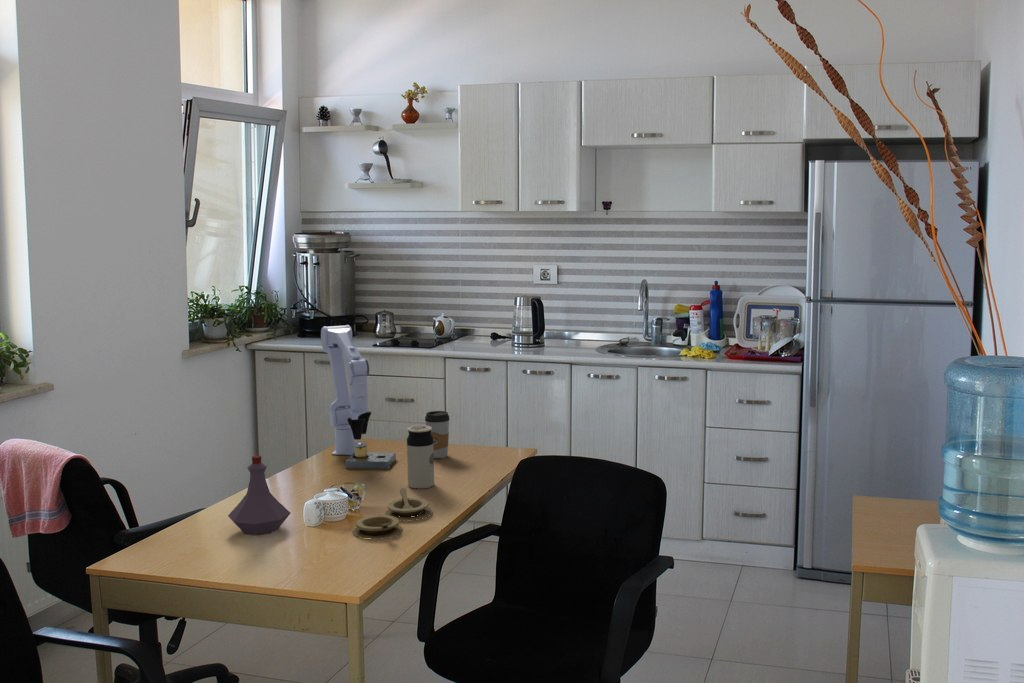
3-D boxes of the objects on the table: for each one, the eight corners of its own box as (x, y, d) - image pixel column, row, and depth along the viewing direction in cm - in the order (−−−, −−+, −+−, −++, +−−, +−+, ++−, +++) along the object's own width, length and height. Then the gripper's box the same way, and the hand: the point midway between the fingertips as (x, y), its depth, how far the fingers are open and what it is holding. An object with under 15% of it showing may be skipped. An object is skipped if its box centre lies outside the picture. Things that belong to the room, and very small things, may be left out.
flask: (266, 516, 285) (262, 446, 283) (304, 527, 275) (301, 455, 272) (215, 531, 273) (211, 458, 270) (253, 544, 263) (249, 468, 260)
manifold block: (354, 459, 346) (354, 452, 346) (395, 459, 345) (395, 452, 344) (345, 468, 334) (345, 461, 334) (387, 469, 333) (387, 461, 333)
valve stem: (361, 461, 343) (360, 441, 342) (370, 463, 340) (369, 442, 339) (353, 464, 339) (352, 444, 338) (362, 466, 337) (361, 445, 336)
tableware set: (390, 506, 296) (389, 485, 296) (451, 513, 289) (450, 492, 288) (333, 537, 269) (332, 515, 269) (398, 546, 262) (398, 524, 261)
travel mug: (403, 487, 312) (401, 429, 309) (417, 480, 319) (415, 424, 316) (425, 490, 308) (423, 431, 306) (439, 483, 315) (437, 426, 313)
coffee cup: (422, 458, 345) (420, 415, 343) (431, 452, 353) (430, 410, 351) (445, 460, 343) (444, 416, 341) (454, 454, 351) (453, 411, 349)
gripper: (351, 391, 344) (353, 431, 346) (341, 400, 330) (342, 441, 332) (372, 391, 344) (374, 431, 345) (363, 400, 329) (364, 441, 331)
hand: (360, 436), depth 339 cm, fingers open, 7 cm apart
